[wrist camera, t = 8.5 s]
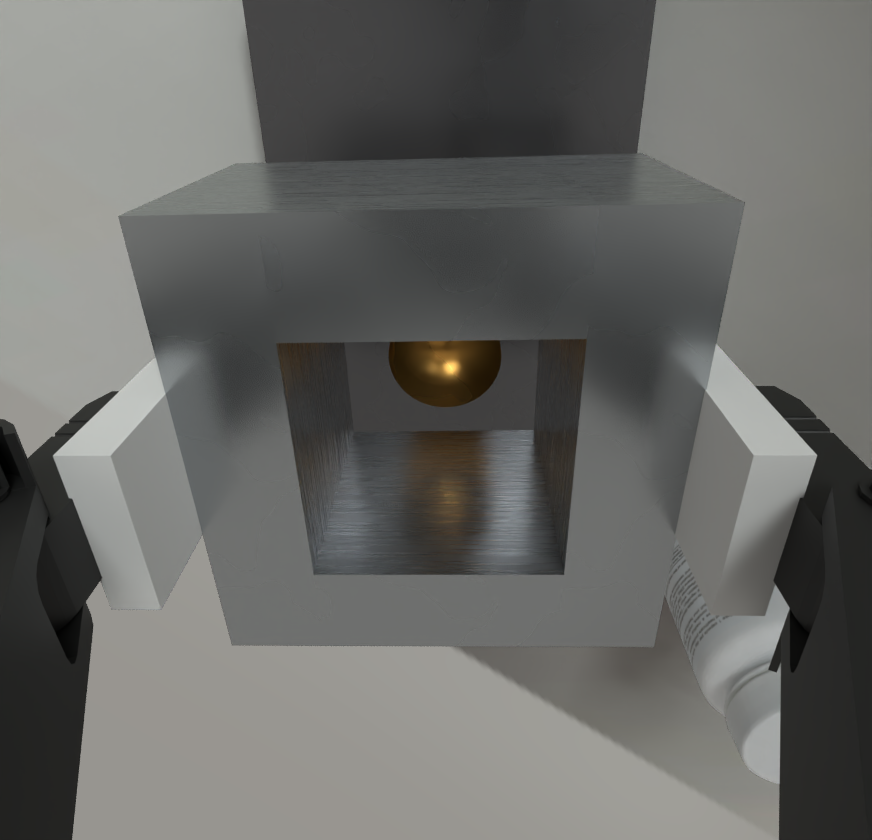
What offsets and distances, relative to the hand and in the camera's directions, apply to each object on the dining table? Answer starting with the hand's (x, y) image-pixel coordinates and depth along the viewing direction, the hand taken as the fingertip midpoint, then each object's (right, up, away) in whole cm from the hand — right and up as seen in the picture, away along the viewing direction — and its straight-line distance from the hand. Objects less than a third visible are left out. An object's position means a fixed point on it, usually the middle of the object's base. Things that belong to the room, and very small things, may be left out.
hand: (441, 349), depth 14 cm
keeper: (0, +3, +5) cm, 6 cm away
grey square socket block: (0, 0, 0) cm, 0 cm away
